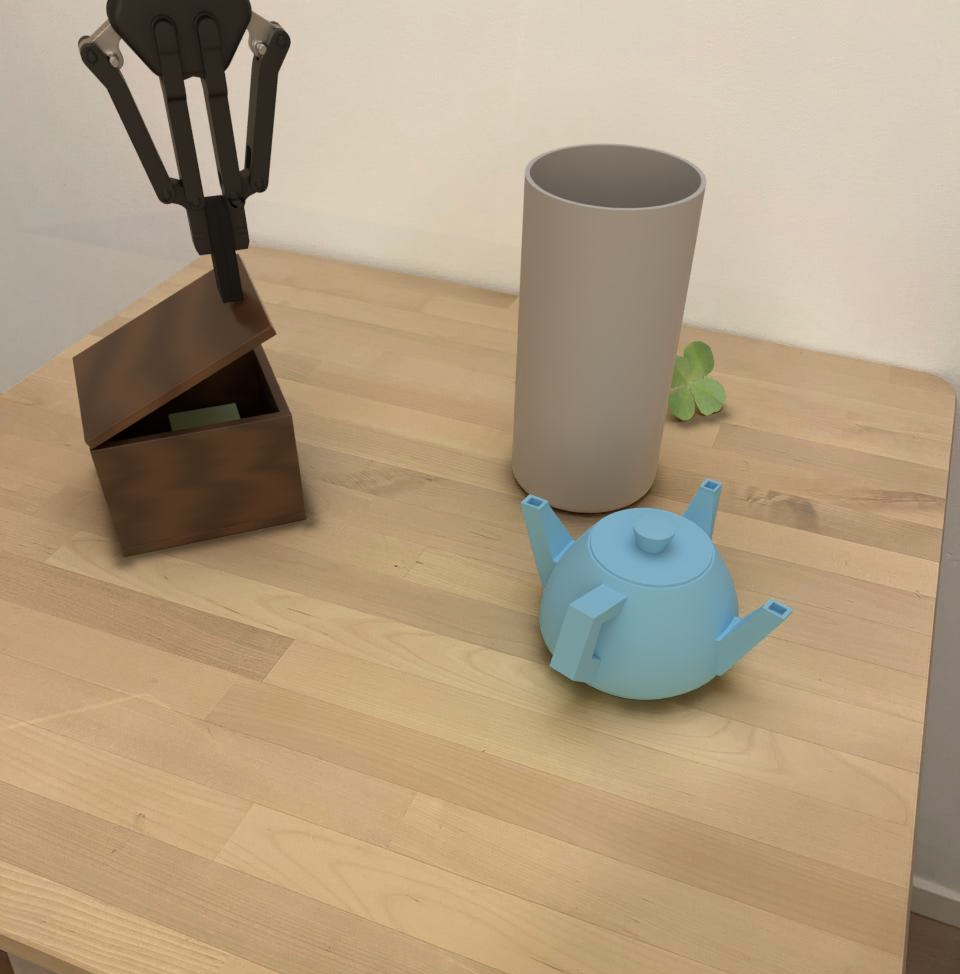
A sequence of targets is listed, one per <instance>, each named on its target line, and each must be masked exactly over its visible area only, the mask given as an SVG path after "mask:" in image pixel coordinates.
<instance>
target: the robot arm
mask: <svg viewBox="0 0 960 974" xmlns="http://www.w3.org/2000/svg"><path fill="white" fill-rule="evenodd" d="M105 6H106V7H105V12H106V17H107V19H106V20H105V21H104V22H103V23H102V24H101V25H100V26H99V27H98V28H97V29H96V30H94V32H93V33H92V34H91V35H87V34H86V35H83V36H81V37H80V38H79V39H78V40H77V48H78V52H79V55H80V59H81V61H82V63H83V65H84V66H86V67H87V69H88V70H89V72H91V73H92V75H93V76H95V77H96V79H97V80H98V81H99V82H100V83H101V85H103V87H104V88H105V89H106V90H107V91H106V92H107V93H108V95H109V97H110V99H111V101H112V103H113V105H114V108H115V110H116V112H117V114H118V117H119V118H120V120H121V122H122V125H123V127H124V129H125V131H126V133H127V136H128V138H129V140H130V142H131V144H132V146H133V148H134V150H135V152H136V154H137V157H138V158H139V161H140V163H141V166H142V167H143V170H144V171H145V174H146V176H147V179H148V180H149V182H150V184H151V186H152V189H153V191H154V193H155V195H156V197H157V199H158V201H159V202H160V203H162V204H164V205H171V204H173V205H178V206H181V207H183V208H184V209H185V212H186V215H187V216H186V217H187V221H188V226H189V232H190V236H191V241H192V244H193V246H194V249H195V251H196V252H197V255H198V256H201V257H202V256H208V255H210V257H211V262H212V269H214V274H215V279H216V285H217V289H218V291H219V294H220V296H221V299H222V301H223V303H229V302H236V301H243V300H244V298H243V292H242V286H241V280H240V274H239V268H238V262H237V256H236V254H237V251H242V250H243V251H244V250H249V246H250V242H251V241H250V240H251V239H250V235H249V228H248V221H247V215H246V209H245V206H246V204H247V203H246V200H247V199H248V198H249V197H251V196H253V195H255V194H263V193H264V192H266V191H267V189H268V187H269V181H270V172H271V171H270V170H271V161H272V160H271V159H272V149H273V137H274V126H275V115H276V105H277V93H278V91H277V90H278V84H279V83H278V81H279V73H280V70H281V69H282V66H283V64H284V62H285V59H286V57H287V54H288V52H289V50H290V48H291V45H292V40H291V36H290V35H289V34H288V32H287V31H286V30H285V29H284V27H283V26H282V25H281V24H280V23H279V22H277V21H274V20H271V21H270V20H267V19H266V18H265V17H263V16H262V15H260V14H258V13H256V12H255V11H254V10H253V9H252V3H251V0H107V1H106V5H105ZM246 31H247V32H248V39H247V40H248V41H247V44H248V48H249V50H250V51H251V53H252V54H253V57H252V62H251V69H250V70H251V71H250V82H249V84H250V86H249V98H248V108H247V109H248V111H247V124H246V137H245V150H244V152H245V153H244V164H243V165H244V166H243V169H241V170H240V165H239V159H238V158H239V157H238V151H237V145H236V139H235V133H234V128H233V122H232V115H231V109H230V102H229V89H228V82H227V75H226V71H227V70H228V69H229V67H230V65H231V63H232V61H233V59H234V57H235V55H236V52H237V51H238V48H239V46H240V44H241V42H242V40H243V37H244V35H245V34H246ZM121 40H122V42H123V43H124V44H126V45H127V47H129V49H130V50H131V51H132V52H133V53H134V54H135V56H137V57H138V58H139V60H141V62H142V63H143V64H144V65H145V66H146V67H147V69H149V70H150V72H151V73H152V74H154V75H155V76H157V77H158V79H159V84H160V88H161V92H162V98H163V102H164V107H165V112H166V117H167V123H168V128H169V134H170V137H171V143H172V149H173V154H174V159H175V163H176V170H177V174H178V178H176V177H175V178H174V177H171V176H170V175H169V173H168V171H167V169H166V166H165V165H164V163H163V159H162V158H161V155H160V154H159V151H158V149H157V147H156V145H155V142H154V140H153V138H152V136H151V134H150V131H149V129H148V126H147V124H146V122H145V121H144V119H143V116H142V113H141V112H140V110H139V107H138V105H137V103H136V100H135V98H134V97H133V93H132V92H131V90H130V87H129V85H128V83H127V81H126V79H125V77H124V75H123V73H122V71H121V69H122V67H123V66H124V64H125V62H124V60H125V59H124V56H123V53H122V51H121V50H120V42H121ZM193 77H194V78H199V79H200V82H201V87H202V92H203V98H204V105H205V109H206V115H207V121H208V127H209V132H210V133H209V134H210V138H211V144H212V149H213V155H214V161H215V166H216V172H217V177H218V178H217V179H218V185H219V187H220V190H221V194H216V195H207V196H205V194H204V188H203V182H202V177H201V172H200V167H199V160H198V155H197V149H196V144H195V138H194V134H193V127H192V123H191V118H190V116H191V115H190V112H189V105H188V97H187V89H186V85H185V81H186V80H188V79H191V78H193Z"/></svg>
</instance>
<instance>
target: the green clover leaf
mask: <svg viewBox="0 0 960 974" xmlns="http://www.w3.org/2000/svg"><path fill="white" fill-rule="evenodd" d="M682 355H683V356H681V355H678V354H677V355H676V361H675V366H674V372H673V378H672V384H671V389H674V390H672V392H670V395H669V401H668V407H669V409H670V412H671V414H672V415H674V416H675V417H676V418H678V419H679V420H681V421H689V420H691V419H692V418H693V417H694V415H695V412H696V411H695V407H696V406H697V409H698V410H699V412H700V414H702V415H704V416H710V415H713V413H718V412H719V411H720V410H721V409H722V407H723V406H724V405H725V403H726V400H727V392H726V389H725V387H724V385H723V384H722V383H721V382H719V381H718V380H717V379H713V378H712V377H708V376H709V374H711V373H712V372H713V369H714V367H715V358H714V354H713V351H712V348H711V346H709V345H708V344H707V343H706V342H704V341H701V340H700V341H699V340H698V341H692V342H690V343H688V344H687V345H686V346H685V347H684V349H683V353H682ZM675 388H676V389H675ZM695 403H696V406H695Z"/></svg>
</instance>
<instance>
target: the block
mask: <svg viewBox="0 0 960 974" xmlns="http://www.w3.org/2000/svg"><path fill="white" fill-rule="evenodd" d="M168 417H169V421H170V426H171V430H172V431H175V430H181V429H187V428H192V427H198V426H204V425H209V424H215V423H220V422H226V421H232V420H237V419H241V418H240V415H239V412H238V409H237V407H236V404H235V403H233V404H227V405H221V406H215V407H209V408H203V409H197V410H191V411H186V412H180V413H174V414H169V415H168Z"/></svg>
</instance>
